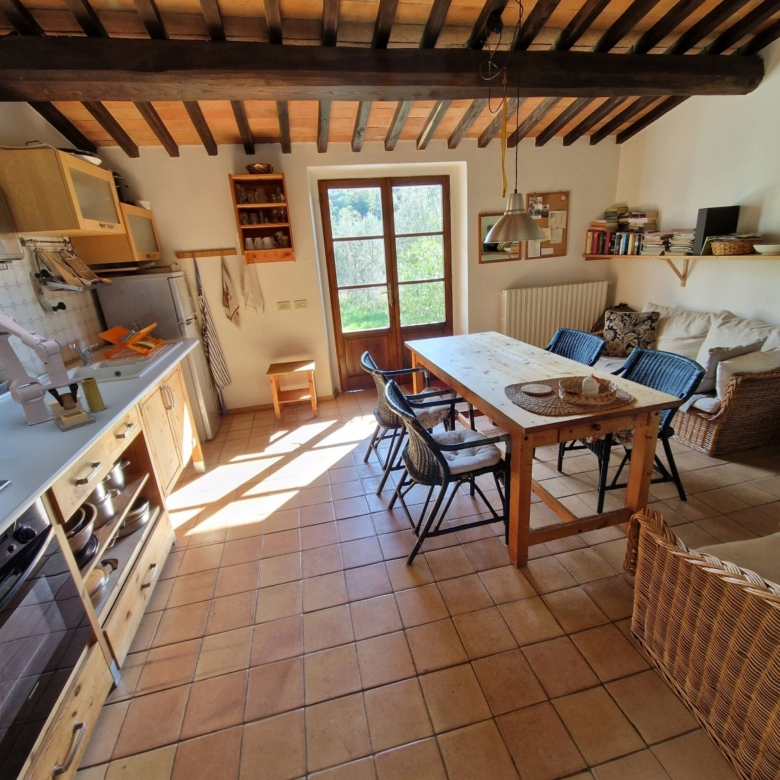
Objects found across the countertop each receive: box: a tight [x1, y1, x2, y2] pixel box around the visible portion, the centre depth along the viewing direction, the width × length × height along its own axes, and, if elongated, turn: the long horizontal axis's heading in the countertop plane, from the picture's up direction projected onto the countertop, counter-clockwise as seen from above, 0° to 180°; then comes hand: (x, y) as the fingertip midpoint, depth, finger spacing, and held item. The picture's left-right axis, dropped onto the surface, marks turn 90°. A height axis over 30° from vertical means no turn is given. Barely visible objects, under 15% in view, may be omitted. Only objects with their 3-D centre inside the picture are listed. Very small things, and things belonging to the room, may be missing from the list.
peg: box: [59, 392, 77, 410], centre depth 163 cm, size 4×4×6 cm
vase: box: [80, 376, 107, 413], centre depth 177 cm, size 6×6×14 cm
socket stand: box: [46, 393, 97, 433], centre depth 166 cm, size 16×11×9 cm
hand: (69, 404), depth 163 cm, fingers closed on peg, 4 cm apart
